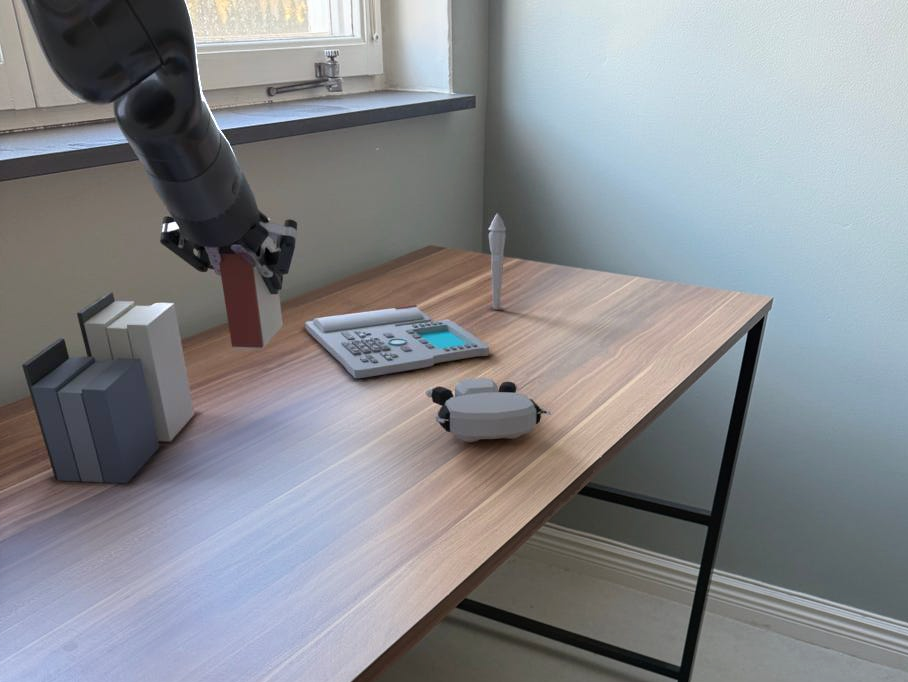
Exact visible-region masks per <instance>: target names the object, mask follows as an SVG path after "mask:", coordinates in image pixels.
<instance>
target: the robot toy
mask: <svg viewBox="0 0 908 682" xmlns="http://www.w3.org/2000/svg"><path fill="white" fill-rule="evenodd" d="M517 389H518V385H517V383H514V382H512V381H504V382H501V384H500V385H499V387H498V384H497V383H496V382H495V381H494V380H493V379H492V378H486V377H473V378H472V377H471V378H465V379H462V380H459V381H458V382H457V383H456V384H455V386H454V394H453V391H452V390H451V389H449V388H447V387H444V386H435V387H434V388H429V389H426V390H425V395H426V396H427V397H428V398H431V400H432V403H433V404H436V405H439V406H440V408H439V410H438V412H437V416H435V423H438V424H439V425H440V426H441V428H443V429H444V431H445V432H446V433H447V432H448V433H450V434H451V436H452V437H455V438H458V439H459V440H461V441H462V442H465V443H475V442H477V441H480V440H496V439H510V440H512V439H513V440H514V439H517V438H519V437H521V436H522V435H526V434H528V433H530V432H531V431H533V430H535V427H536V426H537V425H539V423H540V422H541V418H542V415H543V414H545V415H548V416H549V415H552V412H551V411H552V410H545V409H544V408H541V407H540V406H539V404H537V403H536V402H535V401H534V399H532V398H529V396H528V395H526V394H523V393H518V392H517V391H518V390H517Z"/></svg>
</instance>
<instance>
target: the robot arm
mask: <svg viewBox="0 0 908 682" xmlns="http://www.w3.org/2000/svg"><path fill="white" fill-rule="evenodd" d="M21 3H22V6H23V8H24V10H25V12H26V15H27V17H28V20H29V22H30V25H31V27H32V31H33V33H34V35H35V37H36V40H37V42H38V45H39V48H40V50H41V52H42V54H43V56H44V58H45V60H46V63H47V65H48V66H49V68H50V70H51V71H52V73H53V74H54V76H55V77H56V78H57V80H58V81H59V82H60V83H61V85H62V86H63V87H64V88H65V89H66V90H67V91H69V92H70V93H71V94H72V95H73V96H75V97H77V98H78V99H80V100H81V101H84V102H86V103H89V104H92V105H97V106H106V105H109V104H111V103H112V109H113V116H114V119H115V121H116V124H117V126H118V128H119V130H120V132H121V133H122V135H123V137H124V138H125V140H126V141H127V143H128V144H129V146H130V147H131V149H132V151H133V152H134V154H135V155H136V157H137V159H138V161H140V163H141V165H142V166H143V169H144V172H145V173H146V176H147V179H148V181H149V183H150V184H151V186H152V187H153V189H154V192H156V194H157V196H158V197H159V199H160V201H161V202H162V203H163V205H164V207H165V208H166V210H167V211H168V213H169V215H170V216H169V215H166V216H163V219H162V224H161V230H160V239H159V242H160V244H161V245H162V246H164V247H165V248H166V249H168V250H170V251H171V252H172V253H174V254H175V256H177V257H178V258H180V259H181V260H182V261H184V262H186V263H187V264H188V265H189V266H191V267H192V268H193V269H195V270H196V271H198V272H200V273H207V272H208V271H209V270H213V272H214V273H215V274H216V275H218V276H220V277H221V272H220V266H219V263H222V254H239V255H240V256H241V257H242V259H243V260H244V261H245V262H246V263H247V264H251V265H252V267H253V268H255V267H256V269H257V270H258V271H259V273H260V274H261V275H262V279H263V281H264V282H265V284H266V286H267V288H268V290H269V292H270V294H278V291H279V292H280V291H282V288H283V283H284V282H283V281H284V275H288V274H289V272H290V267H291V265H292V261H293V256H294V252H295V248H296V241H297V231H298V222H297V221H296V220H294V219H291V218H290V219H286V220H284V224H283V225H282V224H278V223H274V222H271V221H270V222H271V223H270V222H269V220H268V219H269V218H268V217H267V215H266V214H264V213H263V212H262V210H260V209H259V206H258V204H257V201H256V198H255V194H254V193H253V190H252V188H251V186H250V183H249V182H248V180H247V178H246V176H245V173H244V171H243V170H242V167H241V165H240V163H239V161H238V159H237V156H236V155H235V153H234V151H233V149H232V147H231V145H230V142H229V141H228V139H227V138H226V136H225V135H224V133H223V132H222V130H221V129H220V128H219V126H218V124H217V121H216V120H215V117H214V115H213V114H212V111H211V109H210V107H209V104H208V103H207V101H206V98H205V96H204V94H203V91H202V85H201V80H200V74H199V66H198V55H197V46H196V38H195V32H194V27H193V23H192V21H193V20H192V19H191V18H192V17H191V14H190V10H189V7H188V4H187V1H186V0H21ZM267 237H270V238H272V239H273V245H276V248H275V250H276V251H275V250H274V251H273V249H272V248H271V247H270V246H269V245H268V243H267V241H266V238H267ZM194 249H195V250H194ZM194 251H196V253H197V254H195V252H194Z"/></svg>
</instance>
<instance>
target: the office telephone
mask: <svg viewBox="0 0 908 682" xmlns="http://www.w3.org/2000/svg"><path fill="white" fill-rule="evenodd" d="M417 305H418V304H417ZM417 305H416V304H415V305H407V306H400V307H399V306H398V307H392V308H385V309H376V310H370V311H362V312H361V311H360V312H353V313H346V314H338V315H332V316H324V317H316V318H315V317H314V319H313V320H307V321H305V323H304V324H305V331H306V332H308V333H309V334H310V336H311V337H313V338H314V339H315V340H316V341H317V342H318V343H319V344H320V345H321V346H322V347H323V348H324V349H326V351H327V352H328V353H330V354H331V355H332V356H333V357H334V358H335V360H337V361H338V362H339V363H340V364H341V365H342V366H343V367H344V368H345V369H346V371H347V372H348V373H349V374H350V375H351V376H352V377H353V378H354V379H361V378H362V379H364V378H371V377H377V376H381V375H388V374H394V373H400V372H407V371H412V370H418V369H425V368H428V367H432V366H434V364H438V363H444V362H450V361H456V360H462V359H469V358H474V357H476V358H477V357H487V356H489V354H490V346H489V345H488V344H486V343H485V342H484V341H482V340H481V339H479V338H478V337H477V336H475V335H474V334H472V333H471V332H469V331H468V330H466V329H465V328H464V327H462V326H460V325H459V324H457V323H455V322H454V321H453V320H451V319H448V318H447V319H440V320H433V321H432V319H431V317H430V316H428V315H427V314H426V313H424V312H423V311H422V310H421V309H420V308H419V307H418V306H417Z"/></svg>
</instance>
